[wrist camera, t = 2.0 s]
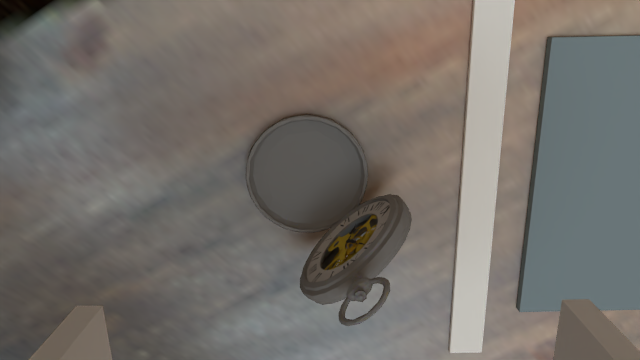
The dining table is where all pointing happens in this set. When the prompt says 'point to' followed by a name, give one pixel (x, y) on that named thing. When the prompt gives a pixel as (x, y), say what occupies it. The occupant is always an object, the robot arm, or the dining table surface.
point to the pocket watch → (327, 207)
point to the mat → (585, 178)
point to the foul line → (480, 169)
